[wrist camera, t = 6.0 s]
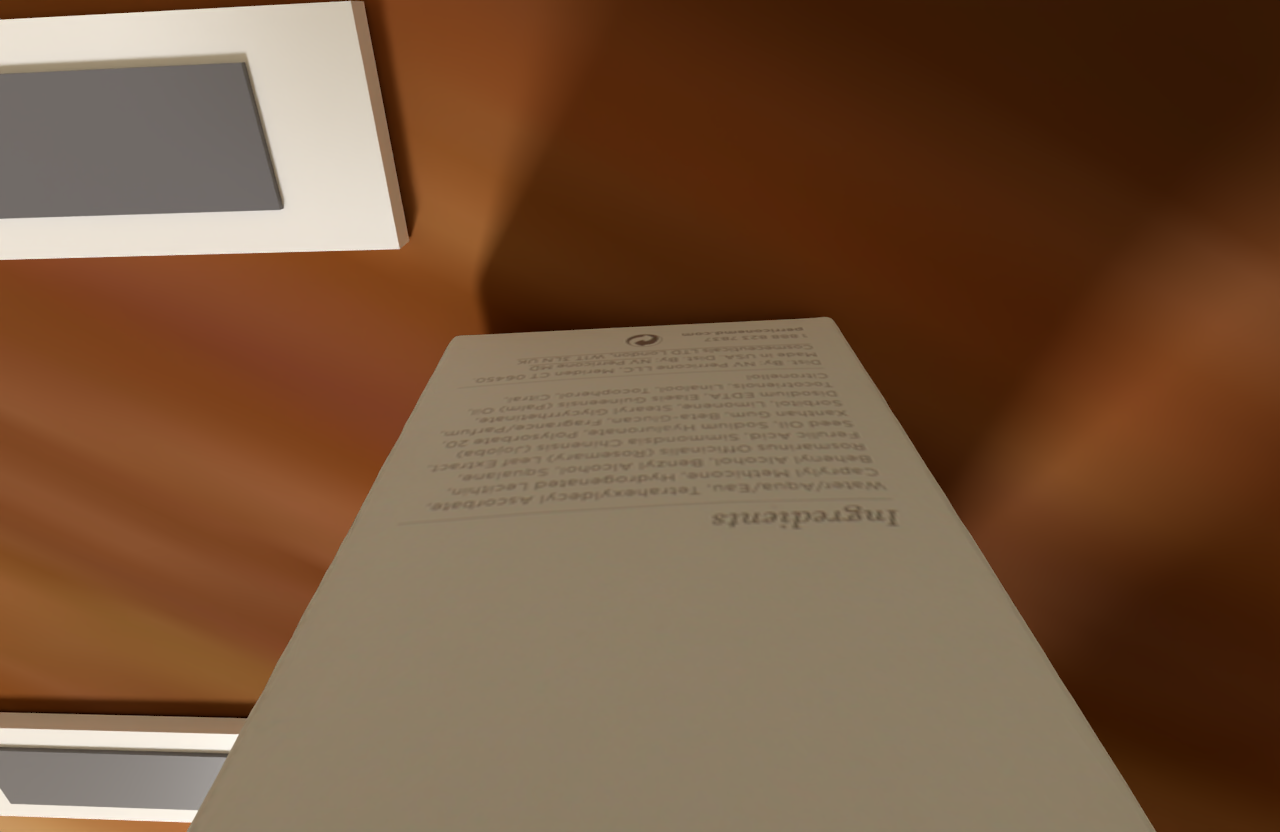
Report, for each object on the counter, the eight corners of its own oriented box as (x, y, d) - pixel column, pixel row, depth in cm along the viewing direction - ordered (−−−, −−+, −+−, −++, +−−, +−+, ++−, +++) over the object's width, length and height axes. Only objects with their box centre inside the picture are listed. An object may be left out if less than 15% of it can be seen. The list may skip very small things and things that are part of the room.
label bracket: (363, 0, 9) (346, 0, 9) (518, 816, 17) (514, 838, 16) (-709, 58, 11) (-769, 61, 10) (-117, 794, 18) (-137, 814, 18)
